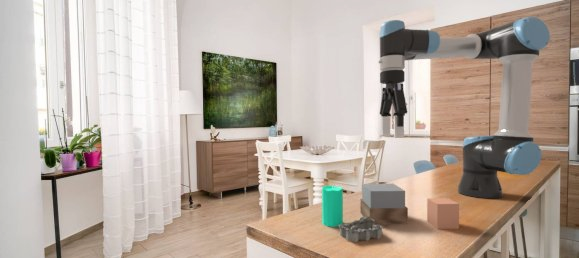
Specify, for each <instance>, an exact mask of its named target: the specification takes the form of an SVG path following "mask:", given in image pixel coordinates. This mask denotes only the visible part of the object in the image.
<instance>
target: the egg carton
mask: <svg viewBox="0 0 579 258" xmlns="http://www.w3.org/2000/svg"><path fill="white" fill-rule="evenodd" d="M337 227H338V228H339V236H340V237H345V239H346V241H347V242H353V243H357V242H359V240H365V241H369V240H370V239H371V238H375V239H381V238H382V236H383V229H384V226H383V225H381V224H376V223H375V221H374V220H373V219H372V218H370V216H368V217H367V216H365V217H363V216H361V217H360V218H359V220H358V219H357V220H356V219H355V220H354V221H352V222H346V223H343V224H341V225H338V226H337Z"/></svg>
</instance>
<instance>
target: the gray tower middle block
mask: <svg viewBox="0 0 579 258" xmlns="http://www.w3.org/2000/svg"><path fill="white" fill-rule="evenodd" d="M361 199H362V200H363V201H364V202H365V203H366V204H367V205H368V206H369V207H370V208H405V206H406V190H405V189H403V188H402V187H399V186H398V185H396V184H395V183H361Z"/></svg>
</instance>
